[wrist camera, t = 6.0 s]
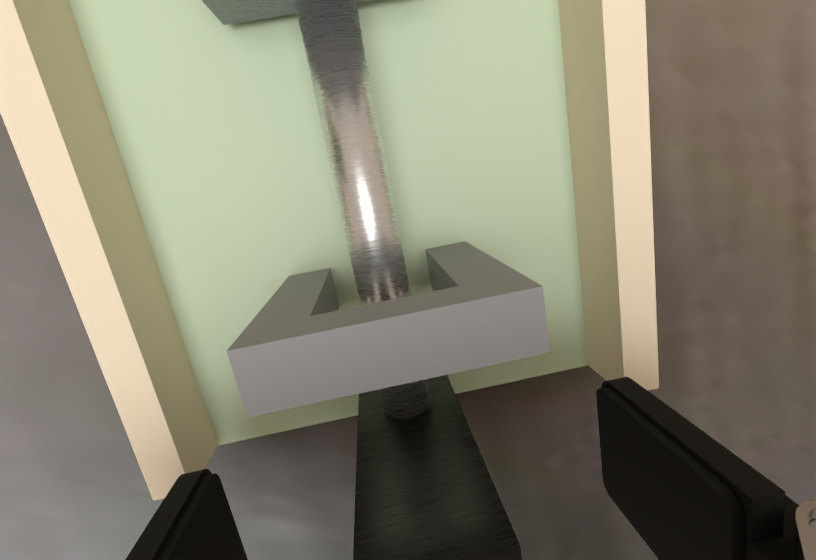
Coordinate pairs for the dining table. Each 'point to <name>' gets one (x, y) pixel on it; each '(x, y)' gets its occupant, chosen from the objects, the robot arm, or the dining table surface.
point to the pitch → (334, 205)
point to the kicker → (376, 282)
